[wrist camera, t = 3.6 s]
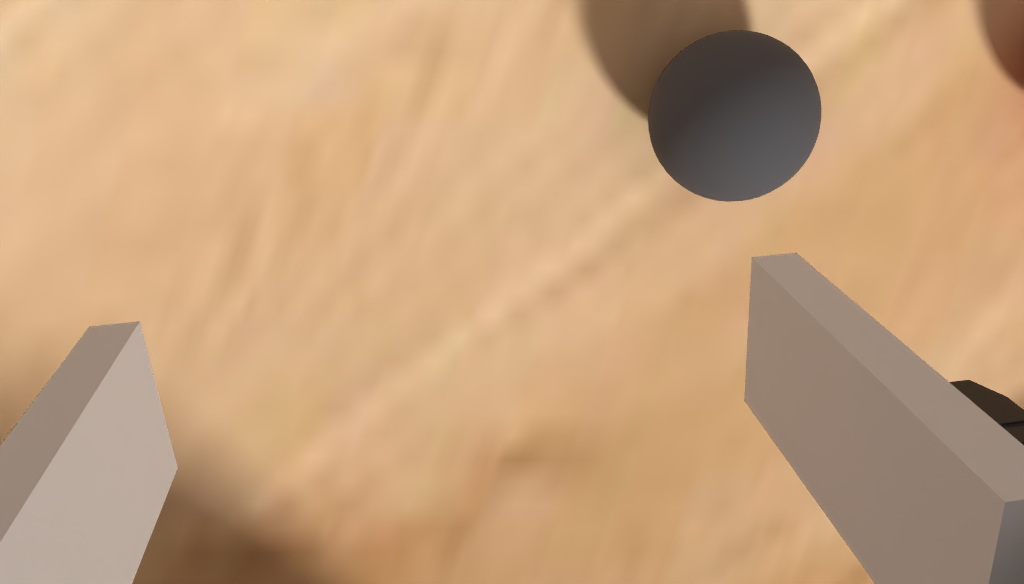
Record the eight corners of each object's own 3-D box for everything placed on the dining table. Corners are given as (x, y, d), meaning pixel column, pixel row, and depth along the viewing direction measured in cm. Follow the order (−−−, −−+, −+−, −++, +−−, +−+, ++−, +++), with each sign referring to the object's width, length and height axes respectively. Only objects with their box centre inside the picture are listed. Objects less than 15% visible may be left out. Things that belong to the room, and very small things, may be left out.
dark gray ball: (631, 182, 32) (674, 232, 27) (629, 28, 30) (676, 50, 25) (775, 168, 33) (844, 214, 28) (784, 15, 30) (861, 35, 25)
